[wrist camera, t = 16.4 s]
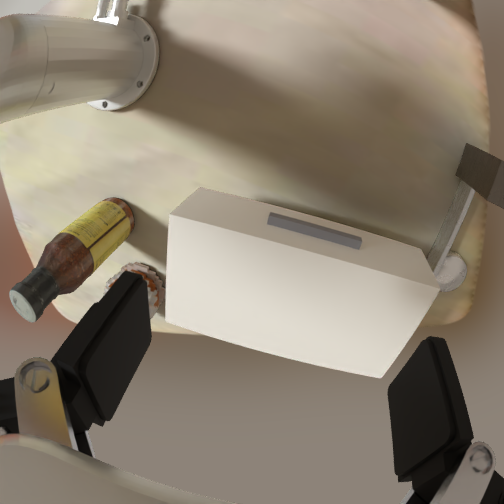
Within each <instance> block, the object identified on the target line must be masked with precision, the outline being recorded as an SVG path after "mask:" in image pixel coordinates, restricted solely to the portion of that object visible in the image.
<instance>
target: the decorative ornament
mask: <svg viewBox="0 0 504 504" xmlns="http://www.w3.org/2000/svg"><path fill="white" fill-rule="evenodd" d="M126 270H127V271H130V272H134V273H137V274H141V275H142V276H143V280H146V281H147V286H148V301H149V313H150V319H151V318H152V317H153V316H154V315H155V313H156V312H157V310H158V308H159V306H160V304H161V301H164V300H165V288H164V287H162V281H161V280H159V276H156V272H154V271H151V270H149V266H146V265H143V264H140V263H137V262H135V263H134V264H132V263H128V264H127V265H125V266H123V267H122V268H121V271H120V272H119V273H118V274H117V275H116V274H115V275H114V276H113V277H112V278H110V279H109V280H108V281H107V282H106V284H107V286H106V287H105V293H104V295H105V294H106V292H107V291H108V290H109V289H110V288H111V286H112V285H113V284H114V283H115V281H116V280H117V279H118V278H119V276H120V275H121V274H122V273H123V272H124V271H126Z"/></svg>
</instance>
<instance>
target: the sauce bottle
mask: <svg viewBox="0 0 504 504" xmlns="http://www.w3.org/2000/svg"><path fill="white" fill-rule="evenodd" d="M133 228H134V218H133V214H132V211H131V209H130V208H129V206H128V205H127V204H126V203H125V202H123V201H122V200H121V199H119V198H115V197H114V198H108V199H105V200H103V201H102V202H99V203H98V204H96V205H95V206H94V207H92V208H91V209H90V210H88V211H87V212H86V213H84V214H83V215H82V216H81V217H79V218H78V219H77V220H75V221H74V222H73V223H71V224H70V225H69V226H67V227H66V228H65V229H64V230H62V231H61V232H60V233H59V234H58V235H56V236H55V238H54V239H53V240H52V241H51V242H50V243H48V244H47V245H46V246H45V249H44V252H43V254H42V256H41V258H40V260H39V262H38V265H37V267H36V268H34V269H33V270H32V272H31V273H30V274H29V275H28V276H27V277H26V278H25V279H24V280H23V281H22V282H19V283H17V284H16V285H15V286H14V287H13V288H12V289H11V290H10V292H9V295H10V299H11V302H12V304H13V306H14V308H15V309H16V311H17V312H18V313H19V314H20V315H21V316H22V317H23V318H24V319H26V320H27V321H29V322H36V321H37V320H38V319H39V318H40V316H41V315H42V314H43V311H44V309H45V308H46V307H47V306H48V305H49V303H50V302H51V301H52V300H53V299H55V298H56V297H57V296H58V295H61V294H68V293H71V292H74V291H75V290H76V289H77V288H78V287H79V286H80V285H82V283H83V282H84V281H85V280H86V279H87V278H88V277H89V276H91V275H92V274H93V272H94V271H95V270H96V269H97V268H98V267H99V266H100V265H101V264H102V263H103V262H104V261H105V260H106V259H107V258H108V257H109V256H110V255H111V254H112V253H113V252H114V251H115V250H116V249H117V248H118V247H119V246H120V245H121V244H122V243H123V242H124V241H125V240H126V239H127V237H128V236H129V234H130V233H131V231H132V229H133Z"/></svg>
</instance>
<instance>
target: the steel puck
mask: <svg viewBox="0 0 504 504" xmlns="http://www.w3.org/2000/svg"><path fill="white" fill-rule="evenodd" d="M466 274H467V266H466V264H465V262H464V261H463V259H462V258H461V256H460V255H459V254H458V253H457V252H454V251H449V252H448V254H447V256H446V258H445V260H444V262H443V264H442V265H441V267H440V269H439V271H438V273H437V275H436V277H435V278H436V280H437V282H438V284H439V286H440V291H443V292H448V291H452V290H454V289H456V288H457V287H459V286H460V285H461V284H462V283H463V281H464V280H465V277H466Z"/></svg>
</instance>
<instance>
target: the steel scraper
mask: <svg viewBox="0 0 504 504" xmlns="http://www.w3.org/2000/svg"><path fill="white" fill-rule="evenodd" d="M456 176H457V177H458V178H460V179H461V181H460V184H459V186H458V189H457V192H456V194H455V197H454V199H453V202H452V204H451V207H450V209H449V211H448V214H447V216H446V218H445V221H444V223H443V225H442V228H441V230H440V232H439V234H438V236H437V239H436V241H435V243H434V245H433V247H432V249H431V251H430V253H429V255H428V257H427V259H426V260H427V262H428V264H429V266H430V268H431V270H432V272H433V274H434V276H435V277H436V275H437V273H438V271H439V269H440V267H441V265H442V264H443V262H444V260H445V258H446V256H447V254H448V252H449V250H450V248H451V246H452V244H453V241H454V239H455V237H456V235H457V233H458V231H459V229H460V226H461V224H462V222H463V220H464V217H465V215H466V213H467V210H468V208H469V206H470V203H471V201H472V198H473V196H474V193H475V191H476V192H478V193H479V194H480V195H481V196H482V197H484V198H485V199H486V200H487V201H489V202H491V203H493V204H496V205H497V206H500V207H501V208H503V209H504V161H502V160H500V159H498V158H496V157H495V156H493V155H491V154H489V153H487V152H485V151H482V150H480V149H478V148H476V147H474V146H472V145H470V144H468V143H466V146H465V149H464V152H463V155H462V158H461V161H460V164H459V167H458V170H457V173H456Z"/></svg>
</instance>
